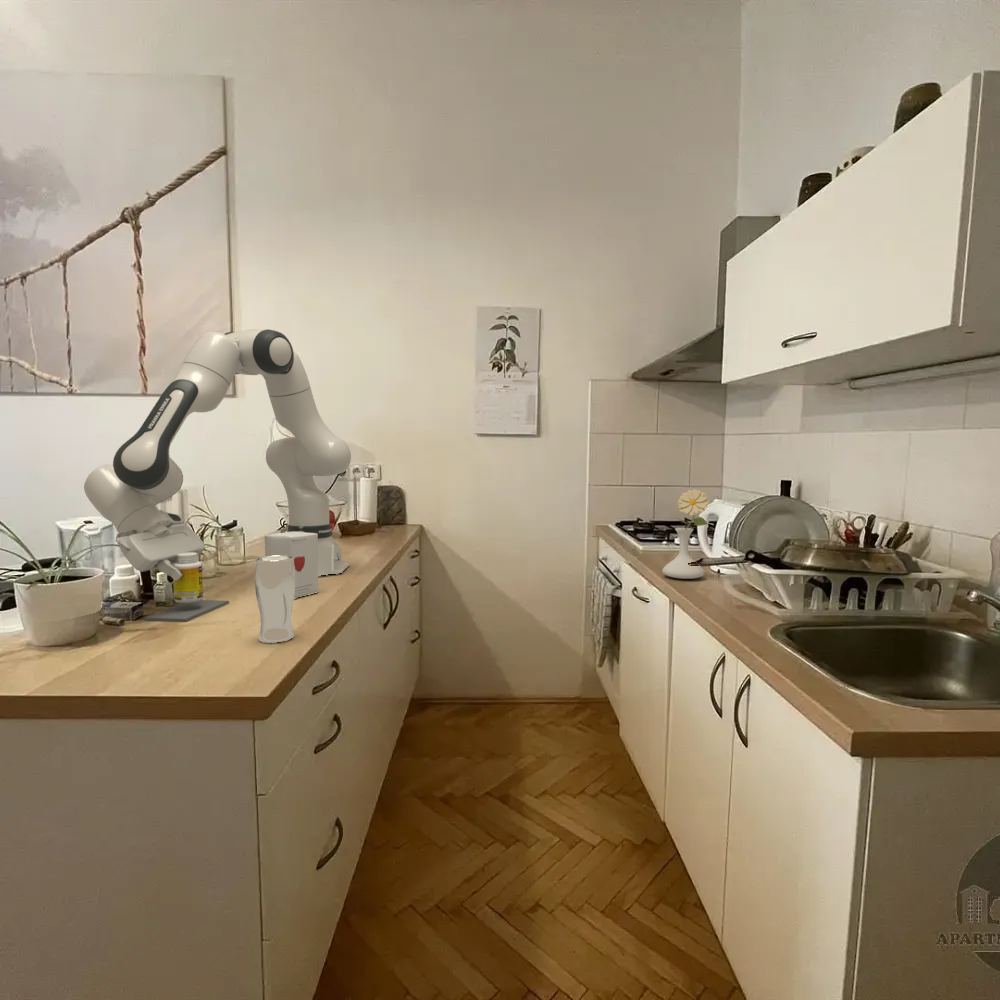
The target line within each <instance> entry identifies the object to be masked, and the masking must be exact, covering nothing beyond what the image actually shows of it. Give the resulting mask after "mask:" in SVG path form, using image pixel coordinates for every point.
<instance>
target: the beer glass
mask: <svg viewBox="0 0 1000 1000" xmlns="http://www.w3.org/2000/svg"><path fill="white" fill-rule="evenodd" d="M254 589H255V590H254V591H255V596H256V600H257V605H258V606H257V607H258V610H259V615H260V616H259V617H260V628H259V634H258V635H259V636H258V641H259V642H260V643H263V644H270V643H272V644H278V643H277V642H282V641H286V640H289V639H291V638H293V637H294V638H295V634H294V633H295V632H294V628H293V625H292V611H293V606H294V600H295V599H294V594H295V566H294V557H293V556H289V555H271V556H265V555H264V556H259V557H256V558H255V565H254ZM294 638H293V639H294ZM289 641H290V640H289ZM286 642H287V641H286ZM282 643H283V642H282Z"/></svg>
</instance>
